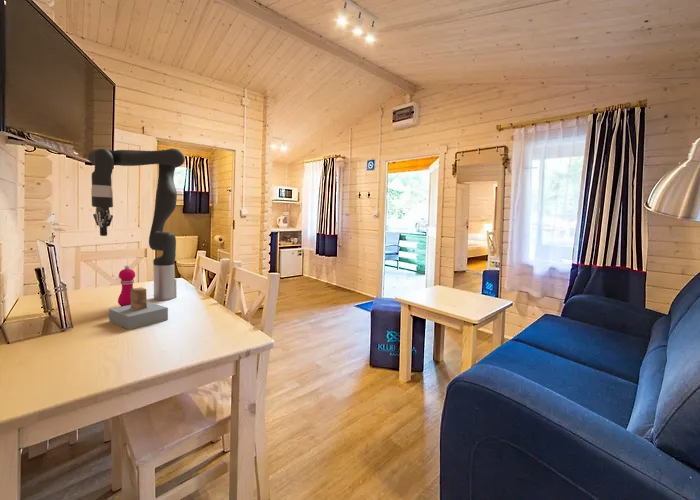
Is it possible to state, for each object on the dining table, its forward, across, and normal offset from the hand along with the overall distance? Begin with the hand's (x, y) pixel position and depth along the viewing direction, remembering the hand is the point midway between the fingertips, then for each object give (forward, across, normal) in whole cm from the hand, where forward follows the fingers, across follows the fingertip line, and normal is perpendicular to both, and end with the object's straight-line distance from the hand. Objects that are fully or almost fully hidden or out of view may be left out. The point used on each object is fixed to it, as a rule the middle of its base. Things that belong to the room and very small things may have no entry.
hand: (103, 235), depth 151 cm
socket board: (+32, -30, +1) cm, 44 cm away
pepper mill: (+32, -13, -3) cm, 35 cm away
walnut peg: (+31, -30, +1) cm, 43 cm away
